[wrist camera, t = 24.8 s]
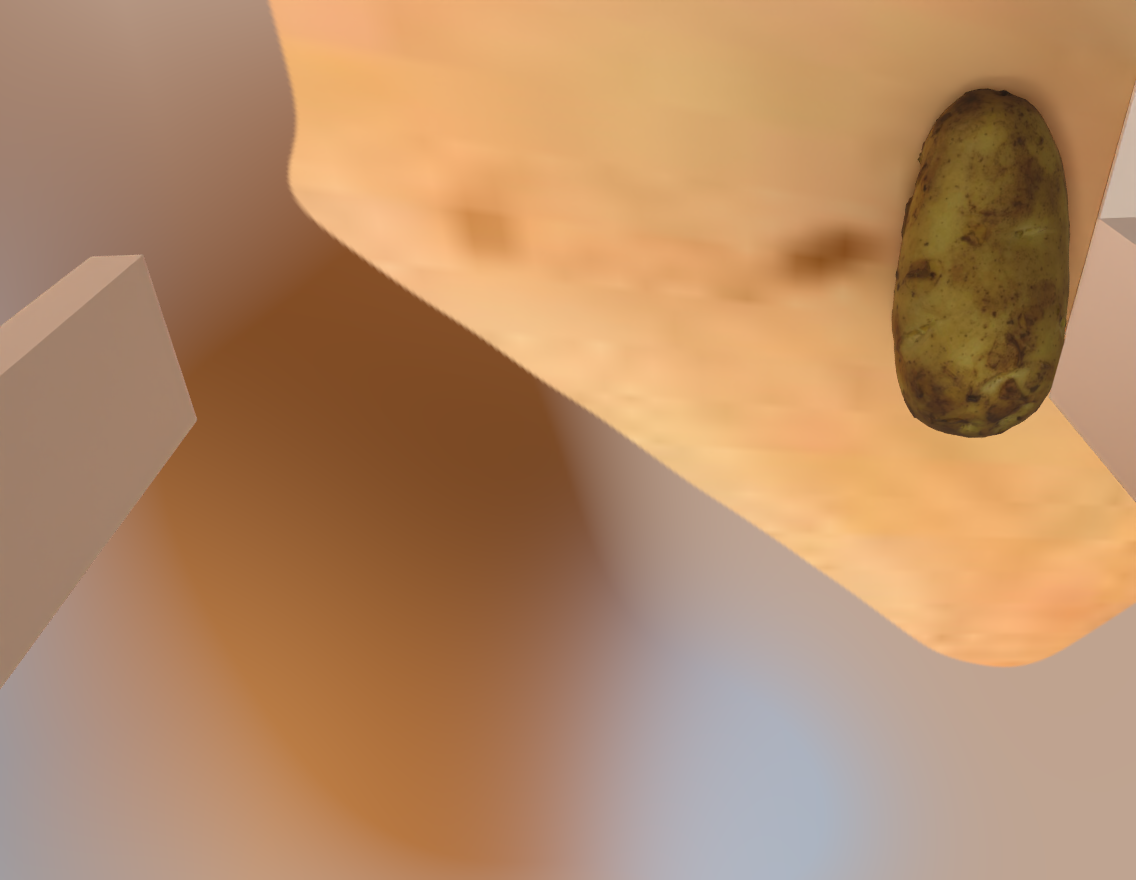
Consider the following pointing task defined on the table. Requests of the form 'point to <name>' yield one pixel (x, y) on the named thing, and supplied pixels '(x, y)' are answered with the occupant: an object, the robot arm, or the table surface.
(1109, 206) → the letter
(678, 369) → the table surface
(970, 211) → the potato
